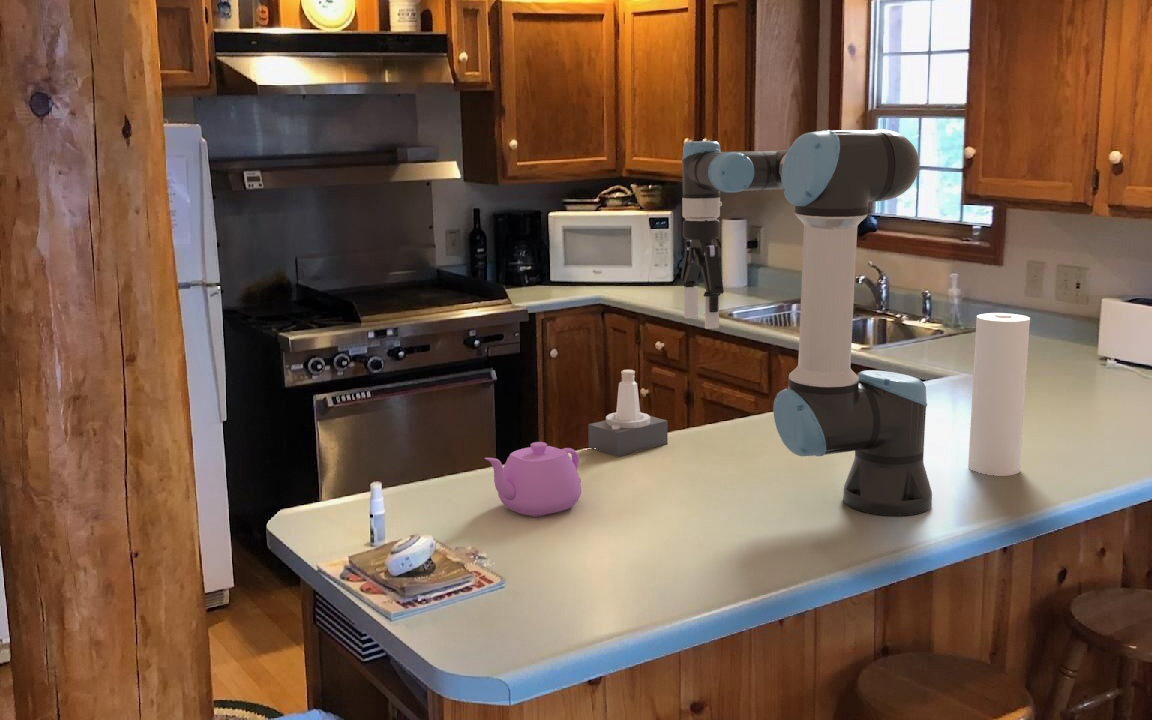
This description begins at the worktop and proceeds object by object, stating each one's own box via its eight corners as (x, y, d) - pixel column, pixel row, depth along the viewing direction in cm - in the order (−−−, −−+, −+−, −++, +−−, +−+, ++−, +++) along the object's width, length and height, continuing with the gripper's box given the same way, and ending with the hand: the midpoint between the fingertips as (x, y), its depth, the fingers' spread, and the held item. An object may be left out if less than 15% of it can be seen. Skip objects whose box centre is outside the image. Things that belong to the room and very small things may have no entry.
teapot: (557, 488, 221) (556, 427, 218) (602, 506, 210) (602, 442, 208) (466, 511, 209) (464, 447, 206) (509, 532, 198) (507, 464, 196)
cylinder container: (986, 477, 223) (996, 320, 217) (958, 463, 232) (966, 312, 226) (1030, 473, 226) (1041, 317, 219) (1000, 459, 235) (1009, 309, 228)
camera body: (638, 435, 255) (638, 407, 254) (667, 443, 249) (667, 415, 247) (588, 447, 247) (588, 418, 245) (617, 456, 240) (617, 427, 239)
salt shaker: (613, 425, 244) (612, 373, 242) (617, 418, 250) (616, 367, 247) (639, 426, 243) (639, 374, 241) (642, 419, 249) (642, 368, 246)
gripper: (740, 222, 229) (739, 331, 233) (699, 214, 253) (699, 312, 257) (703, 224, 227) (702, 333, 232) (665, 215, 251) (666, 314, 255)
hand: (701, 323), depth 244 cm, fingers open, 13 cm apart
